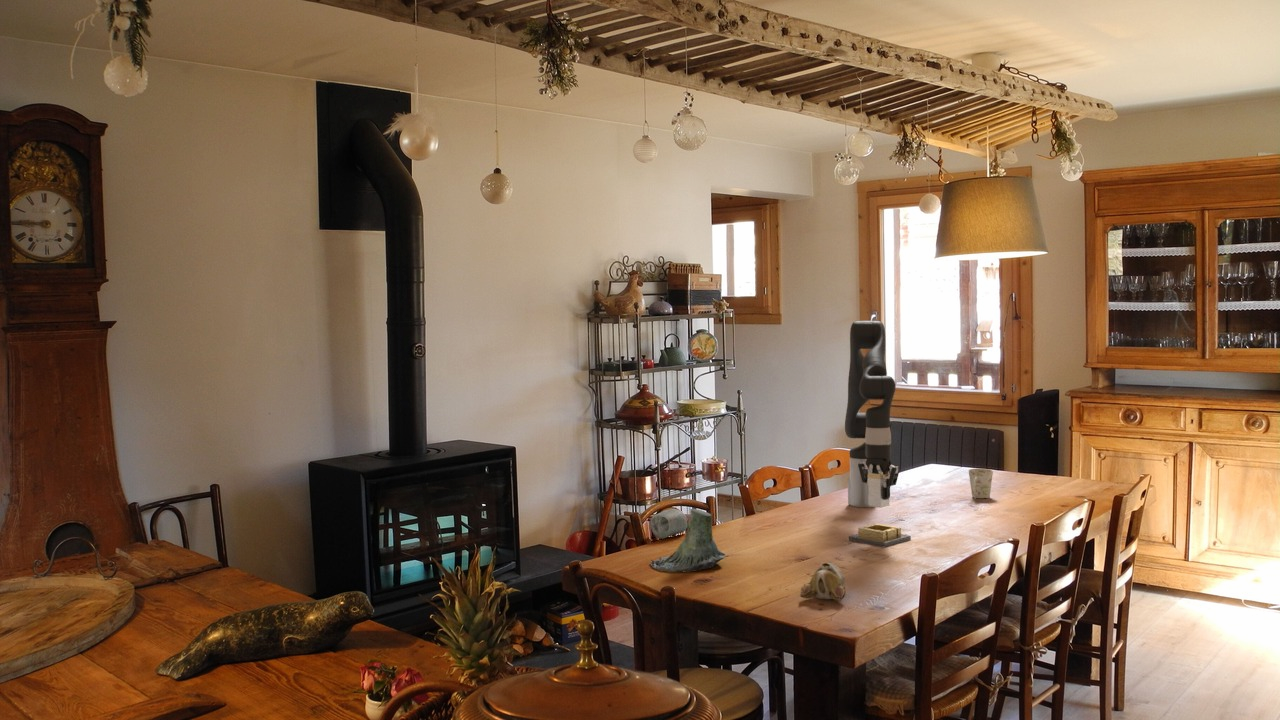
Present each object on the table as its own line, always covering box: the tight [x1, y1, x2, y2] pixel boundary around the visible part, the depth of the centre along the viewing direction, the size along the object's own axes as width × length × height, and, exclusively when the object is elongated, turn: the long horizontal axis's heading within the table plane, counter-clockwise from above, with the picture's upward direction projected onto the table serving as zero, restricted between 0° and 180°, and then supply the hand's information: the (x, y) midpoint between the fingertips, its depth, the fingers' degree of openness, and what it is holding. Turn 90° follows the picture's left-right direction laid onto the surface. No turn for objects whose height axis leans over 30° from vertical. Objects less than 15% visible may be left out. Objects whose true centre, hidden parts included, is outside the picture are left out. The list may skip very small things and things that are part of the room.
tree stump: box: [650, 508, 726, 573], centre depth 272 cm, size 18×20×18 cm
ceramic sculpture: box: [799, 560, 846, 602], centre depth 237 cm, size 11×9×15 cm
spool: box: [649, 508, 688, 540], centre depth 308 cm, size 14×10×10 cm
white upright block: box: [868, 472, 891, 508], centre depth 294 cm, size 5×5×10 cm
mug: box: [968, 468, 994, 499], centre depth 355 cm, size 8×13×10 cm, turn 148°
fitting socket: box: [848, 522, 911, 548], centre depth 295 cm, size 13×13×4 cm
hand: (879, 498), depth 294 cm, fingers closed on white upright block, 4 cm apart
